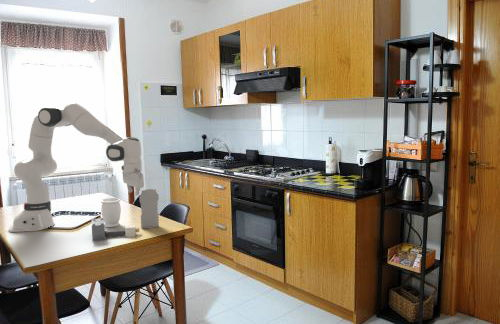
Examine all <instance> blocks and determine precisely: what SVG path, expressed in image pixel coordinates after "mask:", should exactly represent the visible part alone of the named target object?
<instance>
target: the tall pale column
mask: <svg viewBox="0 0 500 324" xmlns="http://www.w3.org/2000/svg"><path fill="white" fill-rule="evenodd" d="M159 197H160V196H159V194H158V192H157V190H156V189H154V188H147V189H142V190H141V192H140V194H139V195H138V198H139V200H138V201H139V203H140V211H141V212H140V213H141V214H140V228H141V229H143V230H145V229H153V228H157V227H160V223H159V222H160V221H159V212H158V211H159V210H158V208H159V207H158V206H159V202H158V201H159V199H160V198H159Z"/></svg>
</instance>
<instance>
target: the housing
mask: <svg viewBox="0 0 500 324" xmlns="http://www.w3.org/2000/svg"><path fill="white" fill-rule="evenodd" d="M104 224H105V222H104V218H103V217H101V218H92V219H91V239H92V241H91V242H98V241H99V242H100V241H105V240H106V238H105V231H106V230H105V228H106V227H105V226H104Z"/></svg>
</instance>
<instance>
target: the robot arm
mask: <svg viewBox="0 0 500 324" xmlns="http://www.w3.org/2000/svg"><path fill="white" fill-rule="evenodd" d="M69 126H73V128H75V129H76V131H78V132H80V133H81V134H83V135H84V136H90V137H97V138H100V139H103V140H105V141H106V142H107V143H108V144H109V145H108V146H107V147H106V150H105V155H106V157H107V159H108V160H110V161H111V162H115V163H116V162H121V161H123V165H121V166H120V167H121V170H122V174H121V175H122V180H123V183H124V184H126V187H127V191H128V193H132V192H133V189H132V188H133V187H134V189H135V191H134V195H135V196H140V191H141V189H142V188H144V187H145V181H144V174H143V173H142V170H143V168H142V159H141V158H142V157H141V156H142V146H141V141H140V139H138V138H137V137H134V136H125V137H124V138H122V137H120V135H119V134H117V133H116V132H115V131H114V130H112V129H111V128H109V127H108V126H107V125H105V124H104V123H102V122H101V121H100V120H99V119H97V118H96V117H95V116H94V115H93V114H92V113H91V112H90V111H89V110H88V109H86V108H85V107H83V106H82V105H80V104H79V103H77V102H70V103H69V104H67V105H66V106H59V105H57V106H45V107H43V108H40V109H39V111H38V113H37V115H35V117H34V118H33V121H32V123H31V127H30V132H29V139H28V140H29V141H28V148H29V150H31V152H32V154H33V157H32V158H29V159H24V160H21V161H19V162H17V163H16V164H15V166H14V168H13V169H14V170H13V171H14V175H15V176H16V178H18V179H19V180H21V181H22V184H23V185H24V187H25V192H26V200H27V201H25V202H24V204H23V211H21V212H20V213H19V214H17V215H16V216H14V219H13V222H12V225H11V226H9V227H8V232H9V233H16V232H17V233H18V232H19V233H20V232H36V231H38V232H39V231H42V230H45V229H49V228H51V227H50V226H52V227H54V226H55V225H54V224H55V222H54V220H53V215H52V203H51V200H50V198H51V197H50V188H49V186H48V185H46V184H45V183H44V181H43V179H42V178H43V177H47V176H50V175H51V174H53V173H55V172H56V171H57V168H58V165H57V162H56V160H55V159H54V158H53V156H52V155H53V154H52V143H53V137H54V130H55V128H62V127H69ZM53 225H54V226H53ZM48 227H49V228H48Z"/></svg>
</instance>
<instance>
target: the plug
mask: <svg viewBox="0 0 500 324" xmlns="http://www.w3.org/2000/svg"><path fill="white" fill-rule="evenodd" d="M136 233H140V228H139V227H138V228H136V224H132V225H131V224H130V225H125V227H124V229H114V230H113V229H112V230H105V237H107V238H118V236H120V237H135V236H136Z"/></svg>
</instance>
